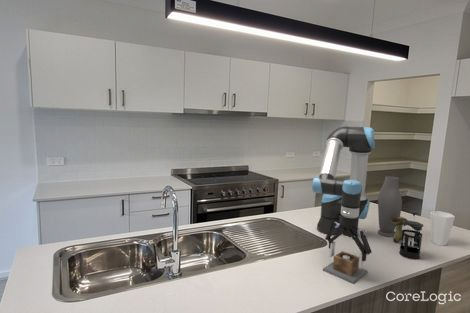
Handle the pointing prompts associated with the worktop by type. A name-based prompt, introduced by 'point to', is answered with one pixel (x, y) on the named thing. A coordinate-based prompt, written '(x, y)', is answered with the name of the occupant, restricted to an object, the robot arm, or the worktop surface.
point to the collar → (346, 263)
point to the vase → (389, 206)
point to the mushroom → (398, 227)
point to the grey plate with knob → (351, 279)
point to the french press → (408, 246)
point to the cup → (441, 227)
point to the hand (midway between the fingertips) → (345, 261)
